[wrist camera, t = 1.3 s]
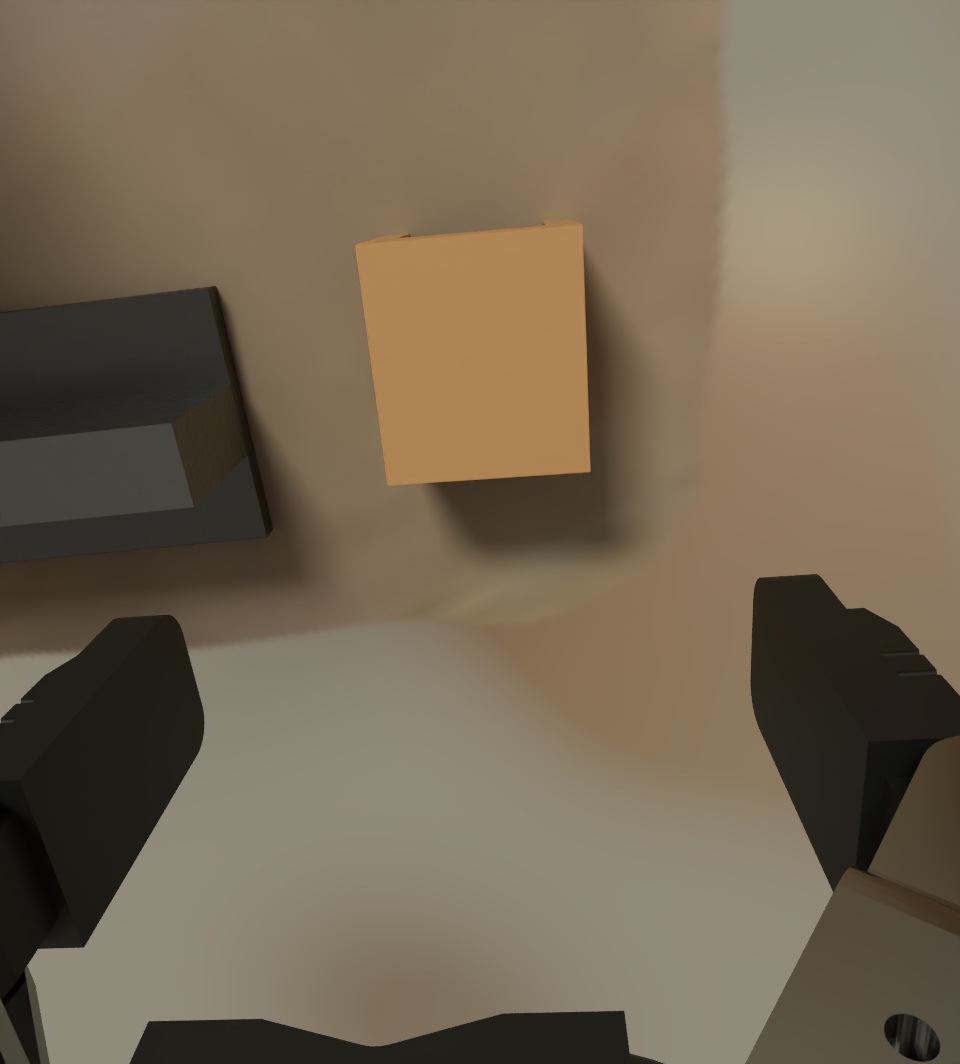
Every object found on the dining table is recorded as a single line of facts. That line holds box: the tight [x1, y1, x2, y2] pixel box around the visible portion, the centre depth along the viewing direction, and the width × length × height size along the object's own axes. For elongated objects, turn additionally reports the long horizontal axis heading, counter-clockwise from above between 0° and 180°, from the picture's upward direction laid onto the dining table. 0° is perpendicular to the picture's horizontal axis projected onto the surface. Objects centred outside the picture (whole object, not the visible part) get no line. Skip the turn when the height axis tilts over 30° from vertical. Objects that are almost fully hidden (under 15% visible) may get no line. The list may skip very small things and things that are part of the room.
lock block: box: [355, 220, 590, 486], centre depth 25 cm, size 7×6×5 cm
